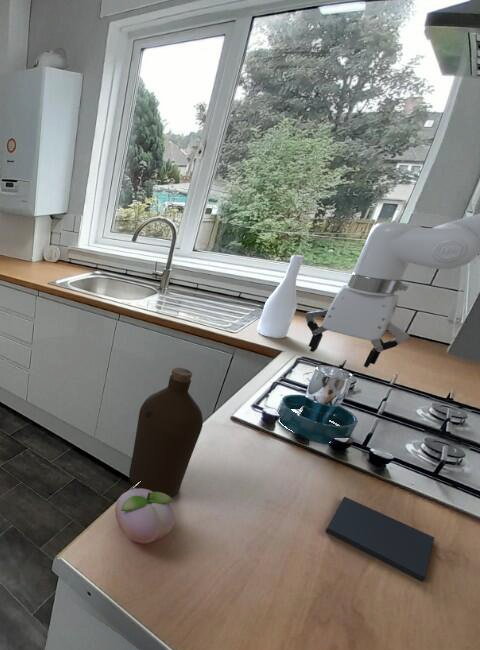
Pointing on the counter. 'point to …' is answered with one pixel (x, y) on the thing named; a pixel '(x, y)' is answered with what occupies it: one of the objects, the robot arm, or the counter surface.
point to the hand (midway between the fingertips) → (338, 357)
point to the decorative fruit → (144, 515)
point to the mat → (382, 537)
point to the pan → (313, 428)
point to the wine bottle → (281, 304)
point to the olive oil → (166, 436)
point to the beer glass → (325, 393)
